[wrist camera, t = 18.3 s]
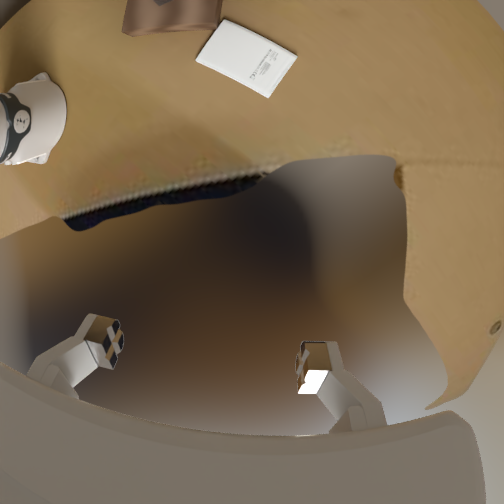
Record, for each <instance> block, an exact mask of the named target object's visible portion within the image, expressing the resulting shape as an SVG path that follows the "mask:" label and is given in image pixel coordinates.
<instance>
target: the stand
mask: <svg viewBox="0 0 504 504" xmlns="http://www.w3.org/2000/svg"><path fill="white" fill-rule="evenodd" d="M221 6H222V0H172V1H170V2H168V3H165V4H163V5H161V6H159V5H158V4H157V3H155V2H154V1H153V0H128V1H127V6H126V11H125V16H124V21H123V27H122V32H123V33H125V34H127V35H129V36H132V37H135V36H141V35H148V34H155V33H164V32H175V31H190V30H216V29H217V28H218V27H219V20H220V13H221Z"/></svg>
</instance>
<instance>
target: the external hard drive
mask: <svg viewBox="0 0 504 504" xmlns="http://www.w3.org/2000/svg"><path fill="white" fill-rule="evenodd" d="M297 57H298V56H296V55H294V54H293V53H291V52H289V51H288V50H286V49H284V48H283V47H281V46H279V45H277V44H275V43H274V42H272V41H270V40H268V39H266V38H264V37H262V36H260V35H258V34H256V33H254V32H252V31H250V30H248V29H246V28H244V27H242V26H239V25H237V24H235V23H233V22H230V21H228V20H226V19H224V20H223V21H222V23H221V24H220V25H219V27H218V28H217V29H216V31H215V32H214V33H213V35H212V36H211V38H210V39H209V41H208V42H207V43H206V45H205V46H204V48H203V49H202V51H201V52H200V54H199V55H198V57H197V58H196V61H197V62H198V63H201V64H203V65H205V66H207V67H209V68H212V69H214V70H216V71H218V72H220V73H222V74H224V75H226V76H228V77H230V78H232V79H234V80H236V81H238V82H240V83H242V84H243V85H245V86H247V87H249V88H251V89H253V90H254V91H256V92H258V93H260V94H262V95H263V96H265V97H267V98H269V97H270V95H271V94H272V92H273V91H274V89H275V88H276V86H277V85H278V84H279V82H280V81H281V79H282V78H283V76H284V75H285V74H286V72H287V71H288V70H289V68H290V67H291V65H292V64H293V63H294V61H295V60H296V59H297Z"/></svg>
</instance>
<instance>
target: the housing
mask: <svg viewBox="0 0 504 504" xmlns="http://www.w3.org/2000/svg"><path fill="white" fill-rule="evenodd" d="M153 1H154V2H155V3H157V4H158V5H159V6H161V5H163V4H165V3H168V2H170V1H172V0H153Z"/></svg>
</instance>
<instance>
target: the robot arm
mask: <svg viewBox="0 0 504 504" xmlns="http://www.w3.org/2000/svg"><path fill="white" fill-rule="evenodd" d="M65 122H66V101H65V97H64V94H63V92H62V91H61V89H60V88H59V87H58V86H57V85H56V84H54V83H53V82H52V81H51V80H50V78H49V76H48V74H47V73H46V72H43V73H40V74H38V75H37V76H35V77H34V78H32V79H31V80H29V81H28V82H22V83H17V84H16V85H15V86H14V87H13V88H11V89H10V90H9V91H8V92H7V93H0V164H2V163H4V164H5V165H10V164H12V165H16V164H20V163H23V162H26V161H27V162H33V163H38V164H43V163H45V162H46V161H47V159H48V157H49V154H50V151H51V149H52V148H53V147H54V146H55V145H56V143H57V142H58V140H59V139H60V137H61V135H62V132H63V130H64V126H65ZM119 327H120V323H119V321H118V320H115V319H111V318H107V317H103V316H99V315H94V314H88V315H87V317H86V318H85V320H84V321H83V323H82V325H81V326H80V328H79V329H78V331H77V333H76V334H75V336H74V337H70V338H68V339H66V340H65V341H63V342H62V343H60V344H58V345H56V346H54V347H53V348H51V349H49V350H48V351H46V352H44V353H43V354H41V355H39V356H37V357H36V359H35V361H34V362H33V364H32V366H31V368H30V369H29V371H28V373H27V375H26V376H25V375H23V374H21V373H19V372H18V371H16V370H14V369H12V368H10V367H9V366H7V365H5V364H3V363H2V362H0V504H486V493H485V482H484V474H483V467H482V462H481V457H480V453H479V448H478V445H477V441H476V437H475V434H474V432H473V429H472V427H471V426H470V424H468V423H467V422H466V421H465V420H464V419H463V418H461V417H460V416H459V415H458V414H456V413H454V412H453V411H443V412H440V413H437V414H433V415H430V416H426V417H423V418H419V419H415V420H411V421H407V422H403V423H397V424H393V425H388V426H387V423H386V419H385V415H384V411H383V408H382V404H381V402H380V401H379V400H378V399H377V398H376V397H375V396H374V395H373V394H372V393H371V392H369V391H368V390H367V389H366V388H365V387H364V386H363V385H362V384H361V383H360V382H359V381H358V380H357V379H356V378H355V377H354V376H352V374H351V373H350V372H348V371H344V367H343V363H342V359H341V355H340V352H339V348H338V344H337V343H336V342H324V341H303V342H302V344H301V346H300V348H301V351H300V352H299V353H298V355H297V358H296V373H297V374H298V375H299V378H298V380H297V385H298V393H306V394H317V396H318V397H319V398H320V400H321V401H322V402H323V403H324V405H325V406H326V407H327V408H328V410H329V411H330V412H331V414H332V415H333V416H334V417H335V419H336V420H337V423H336V424H335V425H334V426H333V427H332V428H331V429H330V430H329V434H317V435H298V436H297V435H293V436H268V435H244V434H231V433H220V432H211V431H203V430H196V429H189V428H183V427H178V426H172V425H166V424H162V423H157V422H153V421H148V420H144V419H140V418H136V417H132V416H128V415H124V414H121V413H118V412H114V411H111V410H108V409H104V408H101V407H99V406H95V405H93V404H90V403H87V402H84V401H82V400H79V399H78V398H79V397H78V394H77V393H76V392H75V390H74V389H73V387H74V386H75V385H77V384H78V383H79V382H80V381H81V380H83V379H84V378H85V377H86V376H87V375H88V374H90V373H91V372H92V371H93V370H95V369H96V368H97V367H98V366H100V367H104V368H108V369H114V367H115V364H116V362H117V359H118V358H117V355H116V354H118V353H119V352H121V350H122V348H123V343H124V336H123V333H122V332H121V330H119Z"/></svg>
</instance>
